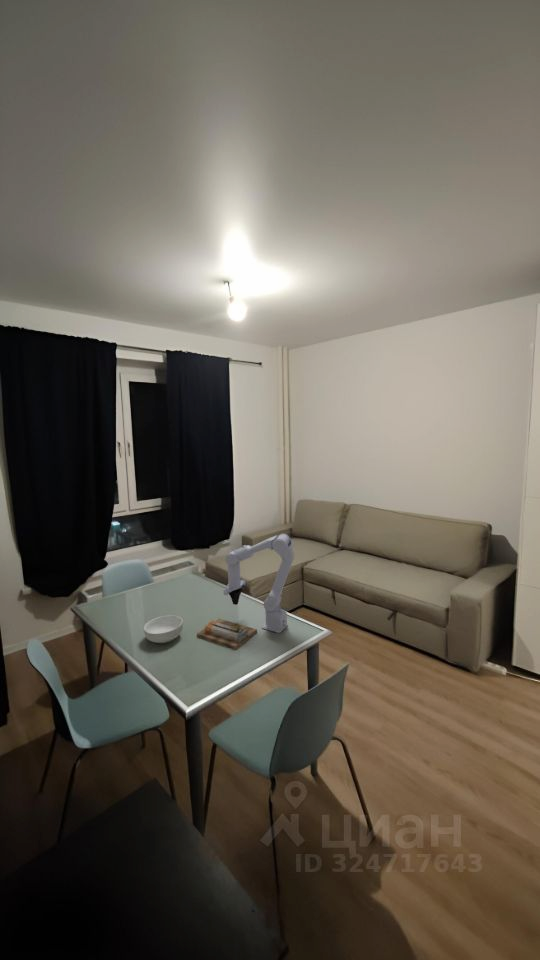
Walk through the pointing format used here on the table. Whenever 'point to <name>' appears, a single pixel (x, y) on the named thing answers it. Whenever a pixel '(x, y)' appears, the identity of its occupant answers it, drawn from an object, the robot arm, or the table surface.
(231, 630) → the tong arm
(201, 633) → the board
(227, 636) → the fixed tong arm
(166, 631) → the cereal bowl
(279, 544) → the robot arm
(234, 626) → the tab
